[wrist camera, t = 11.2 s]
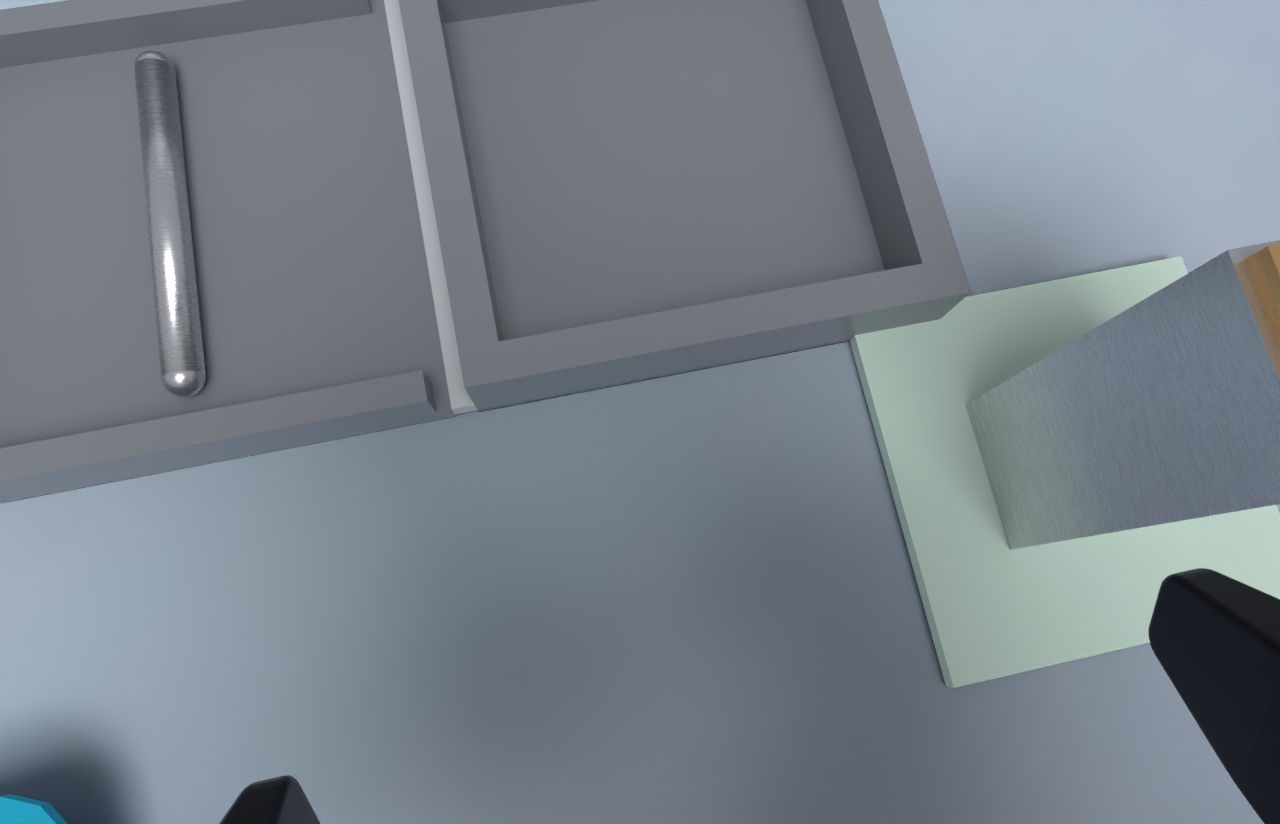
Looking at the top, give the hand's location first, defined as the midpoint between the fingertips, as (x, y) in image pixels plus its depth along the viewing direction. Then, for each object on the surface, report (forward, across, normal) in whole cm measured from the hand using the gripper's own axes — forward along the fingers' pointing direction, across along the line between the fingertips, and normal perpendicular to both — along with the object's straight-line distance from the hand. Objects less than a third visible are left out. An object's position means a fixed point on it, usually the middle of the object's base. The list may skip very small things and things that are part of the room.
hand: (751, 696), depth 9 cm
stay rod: (+19, +10, 0) cm, 22 cm away
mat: (+11, -12, +8) cm, 18 cm away
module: (+11, -12, +7) cm, 18 cm away
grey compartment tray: (+19, +4, 0) cm, 20 cm away
